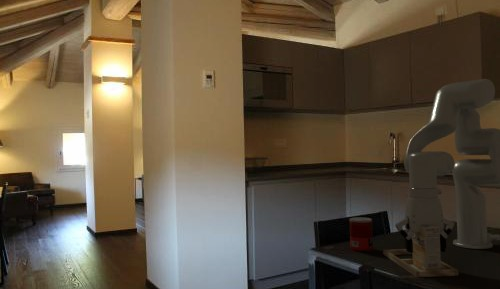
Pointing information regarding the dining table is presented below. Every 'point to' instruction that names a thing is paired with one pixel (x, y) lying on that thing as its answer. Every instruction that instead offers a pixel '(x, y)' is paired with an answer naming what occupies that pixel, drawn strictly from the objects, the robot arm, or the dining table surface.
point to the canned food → (361, 234)
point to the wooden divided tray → (417, 271)
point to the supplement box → (427, 248)
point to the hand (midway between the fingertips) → (425, 251)
